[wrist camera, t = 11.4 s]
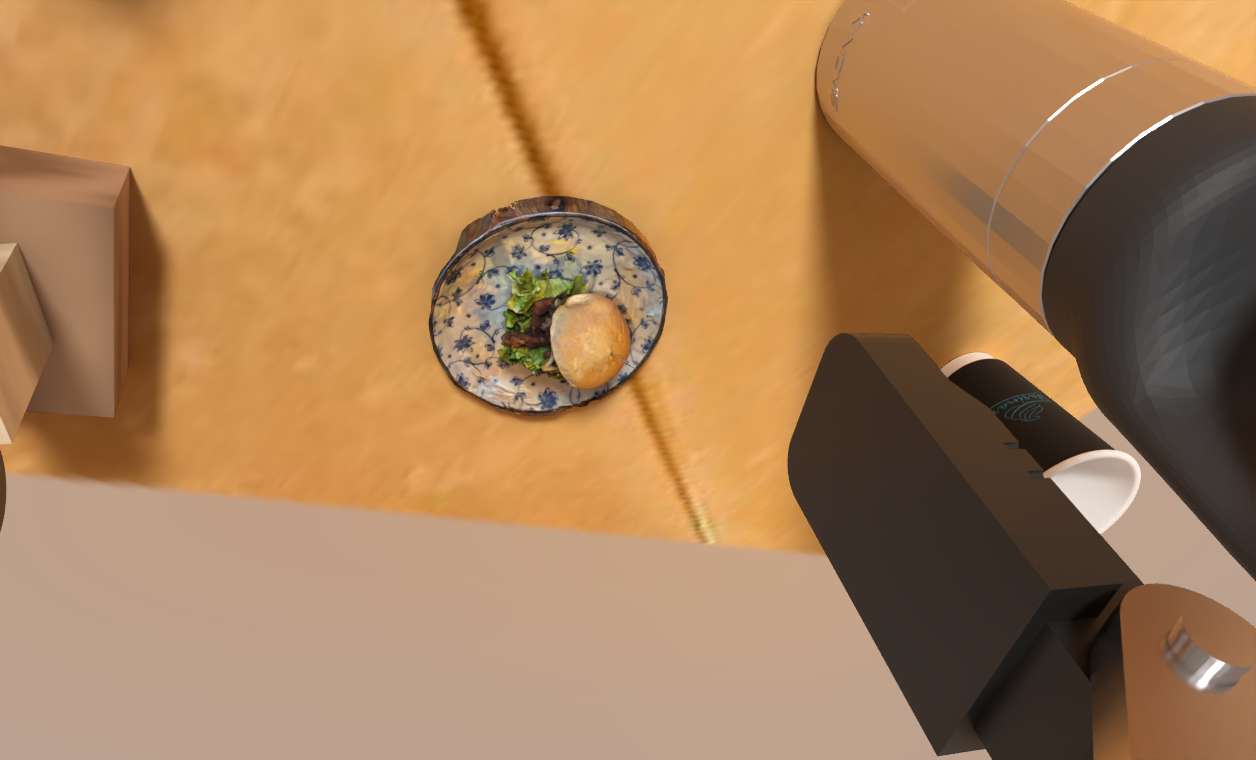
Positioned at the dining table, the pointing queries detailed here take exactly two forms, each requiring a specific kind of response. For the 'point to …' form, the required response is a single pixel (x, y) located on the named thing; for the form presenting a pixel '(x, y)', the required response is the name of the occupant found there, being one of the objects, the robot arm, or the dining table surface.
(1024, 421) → the dixie cup
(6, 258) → the oak block
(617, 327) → the burger
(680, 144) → the dining table surface
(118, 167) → the walnut block
